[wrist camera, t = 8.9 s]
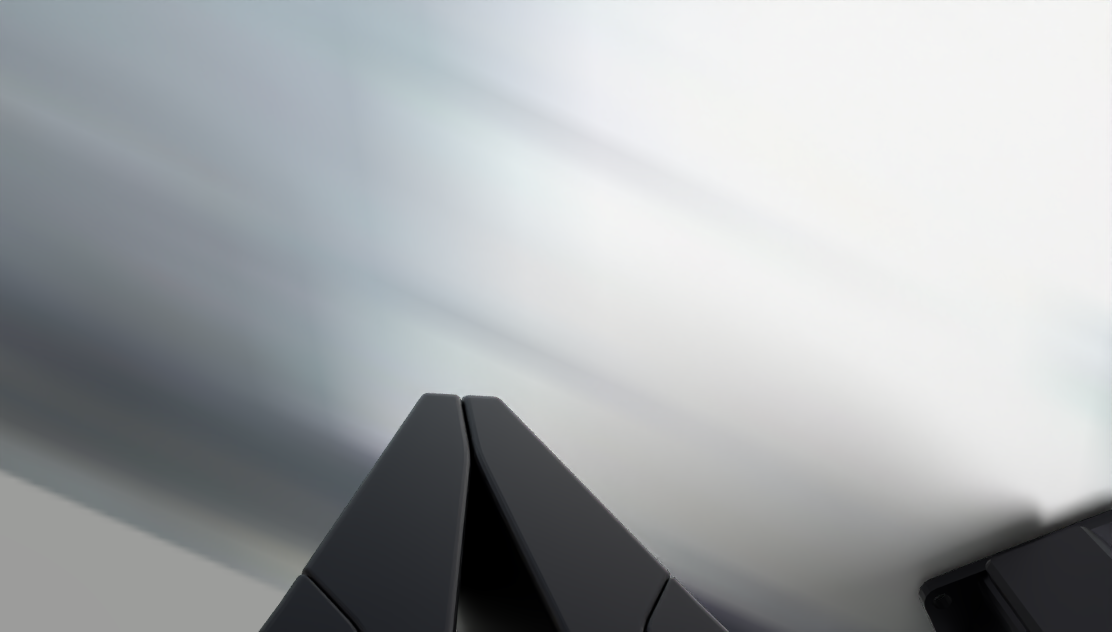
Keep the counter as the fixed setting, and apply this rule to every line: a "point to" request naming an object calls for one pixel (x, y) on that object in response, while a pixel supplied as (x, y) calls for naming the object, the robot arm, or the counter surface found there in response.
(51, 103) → the counter surface
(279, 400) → the counter surface
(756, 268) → the counter surface
